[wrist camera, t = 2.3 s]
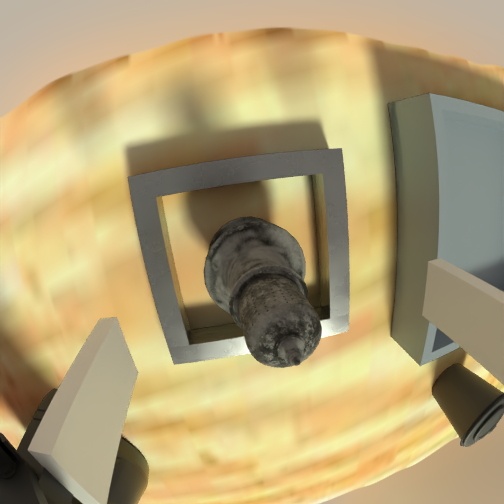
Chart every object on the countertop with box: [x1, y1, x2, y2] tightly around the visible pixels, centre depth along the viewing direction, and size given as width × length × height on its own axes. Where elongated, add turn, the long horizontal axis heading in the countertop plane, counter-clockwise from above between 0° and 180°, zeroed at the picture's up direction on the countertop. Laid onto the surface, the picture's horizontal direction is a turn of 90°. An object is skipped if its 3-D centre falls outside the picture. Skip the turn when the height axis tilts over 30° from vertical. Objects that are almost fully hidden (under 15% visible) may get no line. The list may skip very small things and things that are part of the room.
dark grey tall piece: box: [204, 217, 322, 368], centre depth 14 cm, size 6×6×12 cm
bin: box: [388, 93, 504, 366], centre depth 20 cm, size 20×20×5 cm
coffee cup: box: [432, 364, 504, 447], centre depth 24 cm, size 8×8×10 cm
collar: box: [128, 148, 349, 364], centre depth 19 cm, size 13×13×2 cm
